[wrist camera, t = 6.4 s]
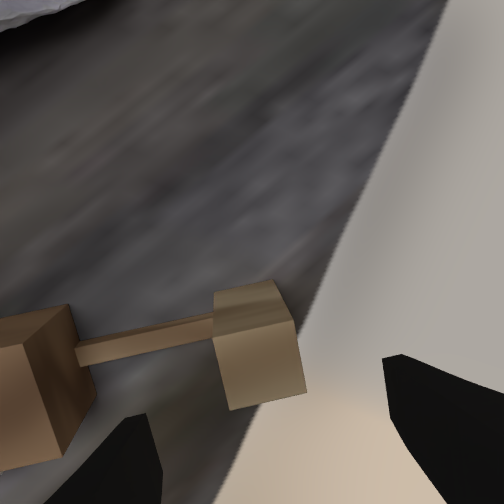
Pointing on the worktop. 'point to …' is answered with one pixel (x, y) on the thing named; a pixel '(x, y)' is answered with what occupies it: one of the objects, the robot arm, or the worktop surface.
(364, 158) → the worktop surface
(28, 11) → the stone block
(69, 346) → the tethered block
